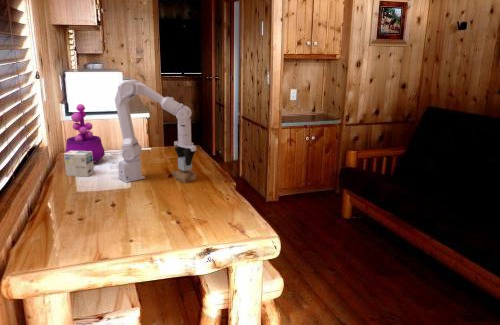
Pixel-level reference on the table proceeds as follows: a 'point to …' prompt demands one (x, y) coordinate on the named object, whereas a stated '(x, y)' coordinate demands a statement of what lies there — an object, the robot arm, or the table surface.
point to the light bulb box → (79, 163)
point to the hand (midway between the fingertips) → (185, 163)
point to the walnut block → (185, 176)
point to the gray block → (183, 164)
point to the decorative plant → (84, 137)
